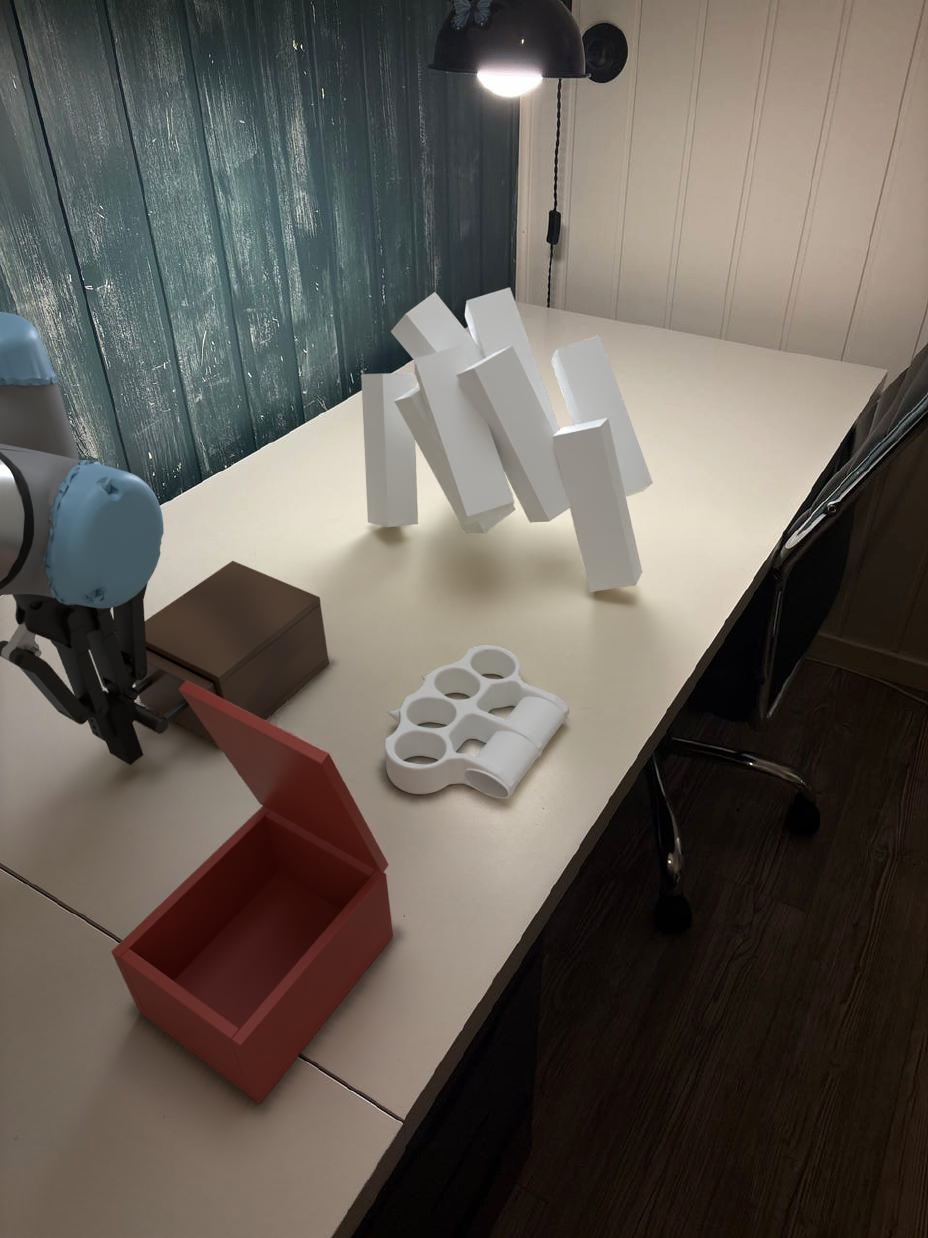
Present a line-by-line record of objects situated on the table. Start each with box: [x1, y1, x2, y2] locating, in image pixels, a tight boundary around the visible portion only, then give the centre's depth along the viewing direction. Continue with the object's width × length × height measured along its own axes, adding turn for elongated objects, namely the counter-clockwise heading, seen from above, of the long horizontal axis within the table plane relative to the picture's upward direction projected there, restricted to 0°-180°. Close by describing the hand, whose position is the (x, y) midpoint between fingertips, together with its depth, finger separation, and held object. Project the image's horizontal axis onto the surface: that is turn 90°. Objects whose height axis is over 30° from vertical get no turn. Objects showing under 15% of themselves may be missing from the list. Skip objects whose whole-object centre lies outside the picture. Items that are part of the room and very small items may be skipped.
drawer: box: [133, 650, 218, 746], centre depth 87 cm, size 17×10×7 cm, turn 147°
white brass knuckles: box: [384, 644, 570, 800], centre depth 85 cm, size 3×18×15 cm
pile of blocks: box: [360, 287, 654, 593], centre depth 107 cm, size 35×30×35 cm
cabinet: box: [145, 560, 330, 721], centre depth 89 cm, size 14×12×9 cm
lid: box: [179, 680, 389, 873], centre depth 61 cm, size 16×12×1 cm
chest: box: [110, 805, 394, 1104], centre depth 65 cm, size 15×12×8 cm
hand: (126, 753), depth 82 cm, fingers closed
